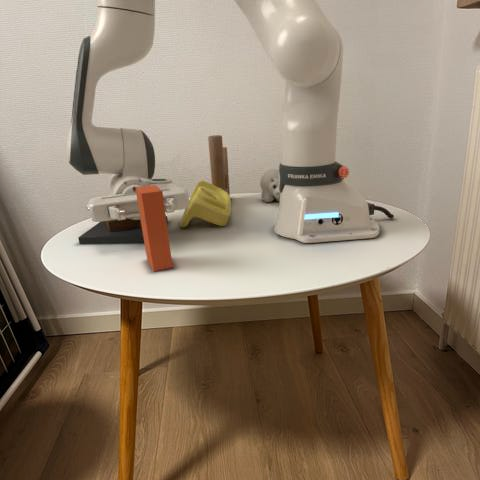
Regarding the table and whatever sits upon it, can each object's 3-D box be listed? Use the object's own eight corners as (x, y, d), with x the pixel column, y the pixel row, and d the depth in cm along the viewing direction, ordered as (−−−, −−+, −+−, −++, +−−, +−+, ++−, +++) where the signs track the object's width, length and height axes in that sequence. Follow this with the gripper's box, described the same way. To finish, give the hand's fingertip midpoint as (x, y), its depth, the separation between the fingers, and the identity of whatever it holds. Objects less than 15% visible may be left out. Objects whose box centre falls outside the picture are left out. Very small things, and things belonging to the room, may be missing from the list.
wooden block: (230, 198, 126) (226, 132, 118) (226, 207, 117) (221, 136, 108) (217, 199, 127) (212, 132, 118) (212, 208, 117) (206, 137, 109)
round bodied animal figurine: (265, 209, 114) (264, 175, 109) (259, 198, 124) (258, 167, 120) (292, 206, 114) (292, 173, 110) (283, 196, 124) (283, 166, 120)
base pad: (167, 222, 107) (165, 206, 105) (149, 242, 93) (146, 224, 92) (106, 223, 109) (103, 207, 107) (79, 244, 95) (75, 226, 93)
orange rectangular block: (147, 261, 83) (135, 187, 77) (165, 258, 84) (155, 184, 78) (153, 271, 78) (141, 193, 72) (172, 268, 79) (162, 190, 73)
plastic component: (230, 217, 99) (189, 200, 97) (219, 244, 103) (179, 229, 101) (230, 192, 116) (195, 177, 114) (220, 216, 119) (186, 202, 117)
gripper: (82, 189, 90) (87, 203, 78) (177, 177, 96) (194, 188, 84) (88, 219, 93) (94, 236, 81) (180, 206, 99) (197, 220, 87)
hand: (146, 212), depth 83 cm, fingers open, 8 cm apart
